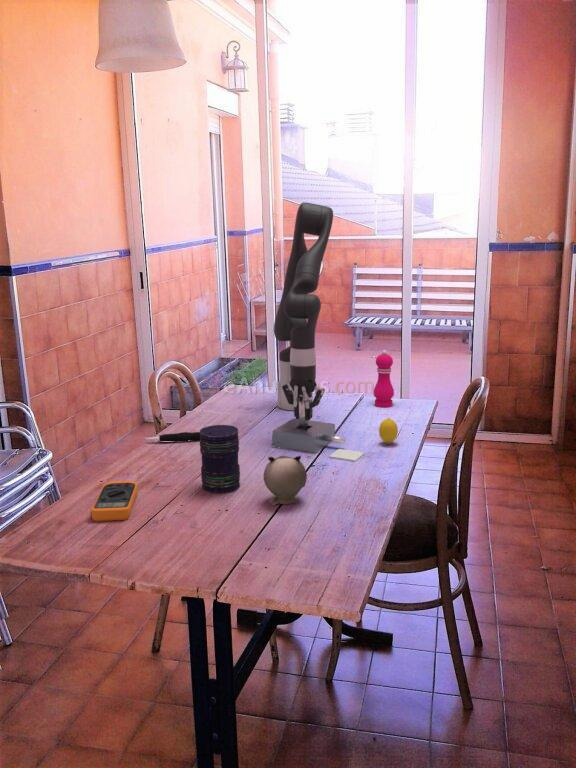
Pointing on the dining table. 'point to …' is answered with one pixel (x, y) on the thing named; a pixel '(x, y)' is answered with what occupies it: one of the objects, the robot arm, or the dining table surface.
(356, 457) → the mat
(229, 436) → the camera lens
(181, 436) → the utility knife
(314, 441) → the block
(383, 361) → the pepper mill
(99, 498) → the multimeter
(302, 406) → the chuck key
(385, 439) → the lemon
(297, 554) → the dining table surface
